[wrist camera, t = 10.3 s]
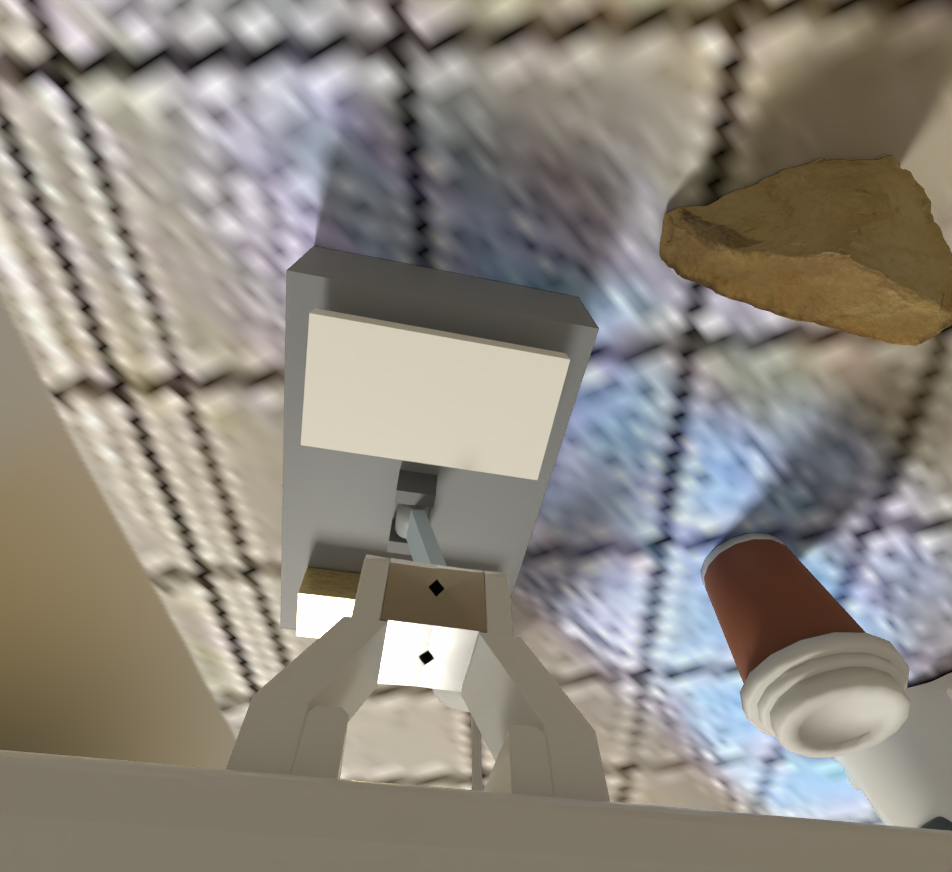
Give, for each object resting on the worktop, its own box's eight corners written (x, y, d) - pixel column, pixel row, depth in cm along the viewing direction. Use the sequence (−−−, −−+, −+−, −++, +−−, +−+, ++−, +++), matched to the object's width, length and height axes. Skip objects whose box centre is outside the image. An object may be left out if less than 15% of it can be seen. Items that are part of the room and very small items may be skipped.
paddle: (425, 490, 29) (457, 568, 24) (419, 518, 30) (449, 598, 25) (396, 491, 28) (423, 571, 24) (391, 520, 29) (417, 602, 25)
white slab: (565, 353, 24) (570, 359, 23) (534, 470, 26) (537, 480, 25) (315, 308, 23) (309, 313, 22) (305, 436, 25) (300, 445, 24)
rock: (623, 314, 27) (796, 386, 28) (722, 230, 19) (967, 337, 19) (684, 134, 29) (846, 207, 30) (799, -18, 20) (1022, 91, 21)
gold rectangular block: (489, 589, 33) (491, 615, 31) (478, 628, 35) (479, 655, 33) (307, 567, 32) (298, 593, 30) (305, 609, 33) (296, 635, 32)
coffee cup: (767, 616, 42) (865, 776, 32) (662, 598, 41) (729, 759, 31) (833, 530, 38) (972, 684, 28) (718, 507, 37) (819, 660, 26)
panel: (578, 297, 29) (608, 342, 23) (489, 594, 40) (494, 674, 34) (313, 245, 27) (274, 281, 21) (300, 571, 39) (271, 652, 33)
